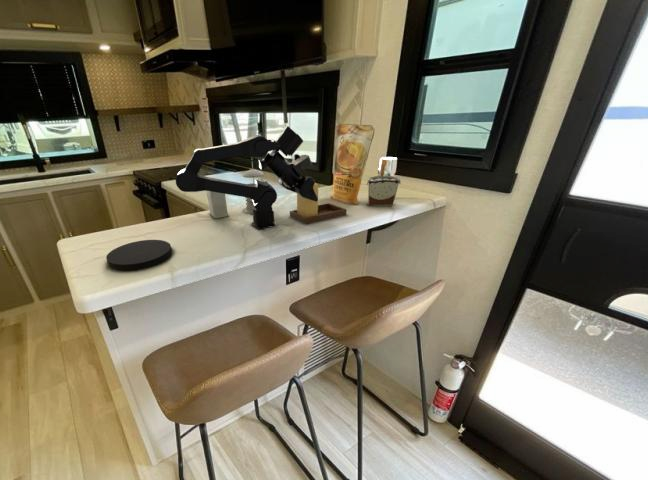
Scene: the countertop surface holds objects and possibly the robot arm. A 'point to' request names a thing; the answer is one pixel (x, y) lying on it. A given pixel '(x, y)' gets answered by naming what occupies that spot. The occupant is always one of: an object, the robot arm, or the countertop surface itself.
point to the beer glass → (387, 166)
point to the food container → (382, 190)
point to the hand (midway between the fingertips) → (311, 197)
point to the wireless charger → (139, 255)
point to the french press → (252, 174)
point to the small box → (217, 204)
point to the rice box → (307, 205)
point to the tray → (320, 213)
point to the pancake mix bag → (350, 160)
